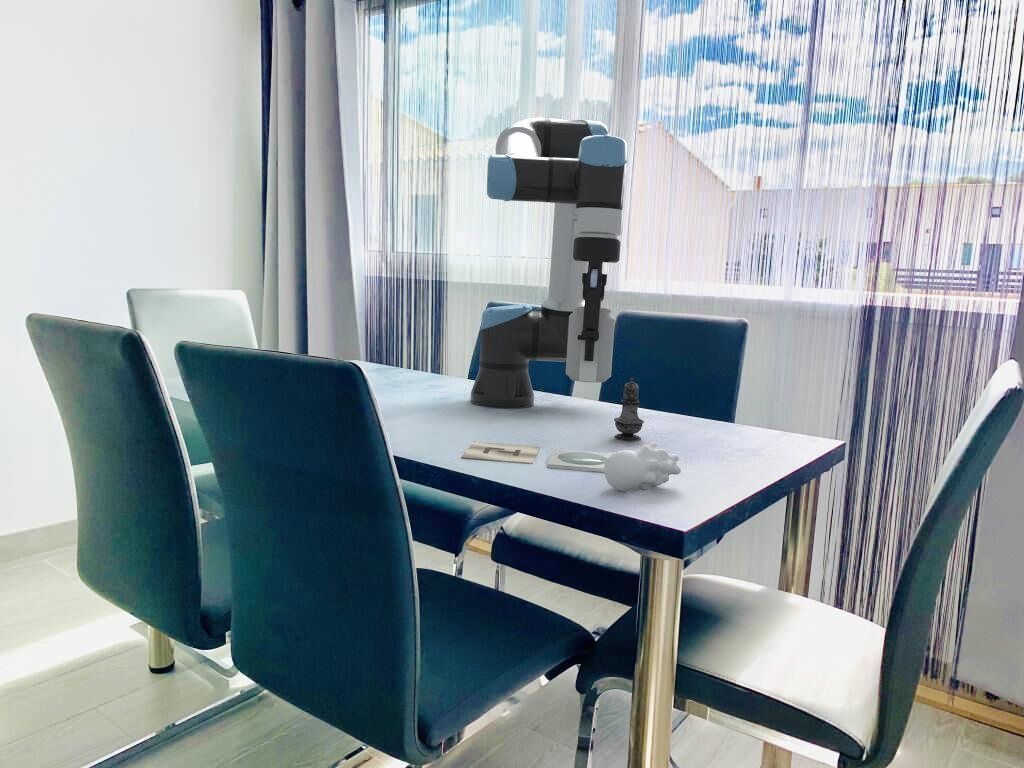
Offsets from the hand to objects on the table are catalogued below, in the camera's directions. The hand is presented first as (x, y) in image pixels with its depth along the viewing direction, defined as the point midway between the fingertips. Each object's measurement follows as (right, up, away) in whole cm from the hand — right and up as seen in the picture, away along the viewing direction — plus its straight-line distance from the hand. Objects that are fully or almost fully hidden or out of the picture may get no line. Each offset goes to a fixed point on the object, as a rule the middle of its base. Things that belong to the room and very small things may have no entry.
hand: (588, 377), depth 124 cm
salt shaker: (+10, -12, +23) cm, 28 cm away
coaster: (-1, -14, +2) cm, 14 cm away
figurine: (+6, -17, -12) cm, 22 cm away
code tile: (-14, -13, +6) cm, 20 cm away
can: (0, -1, 0) cm, 1 cm away
